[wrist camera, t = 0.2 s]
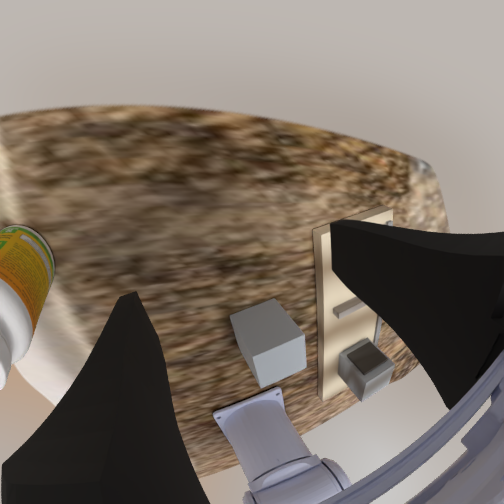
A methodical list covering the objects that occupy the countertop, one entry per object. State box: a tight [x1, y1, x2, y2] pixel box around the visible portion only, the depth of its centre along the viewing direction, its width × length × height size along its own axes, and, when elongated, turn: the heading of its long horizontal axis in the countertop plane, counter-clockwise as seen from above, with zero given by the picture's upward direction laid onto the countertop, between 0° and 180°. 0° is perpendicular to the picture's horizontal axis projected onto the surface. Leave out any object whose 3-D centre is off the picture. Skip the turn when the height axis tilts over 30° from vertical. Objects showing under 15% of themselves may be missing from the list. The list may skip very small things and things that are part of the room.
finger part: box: [229, 298, 307, 388], centre depth 22 cm, size 4×4×5 cm
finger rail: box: [313, 205, 395, 402], centre depth 27 cm, size 24×8×6 cm, turn 12°
